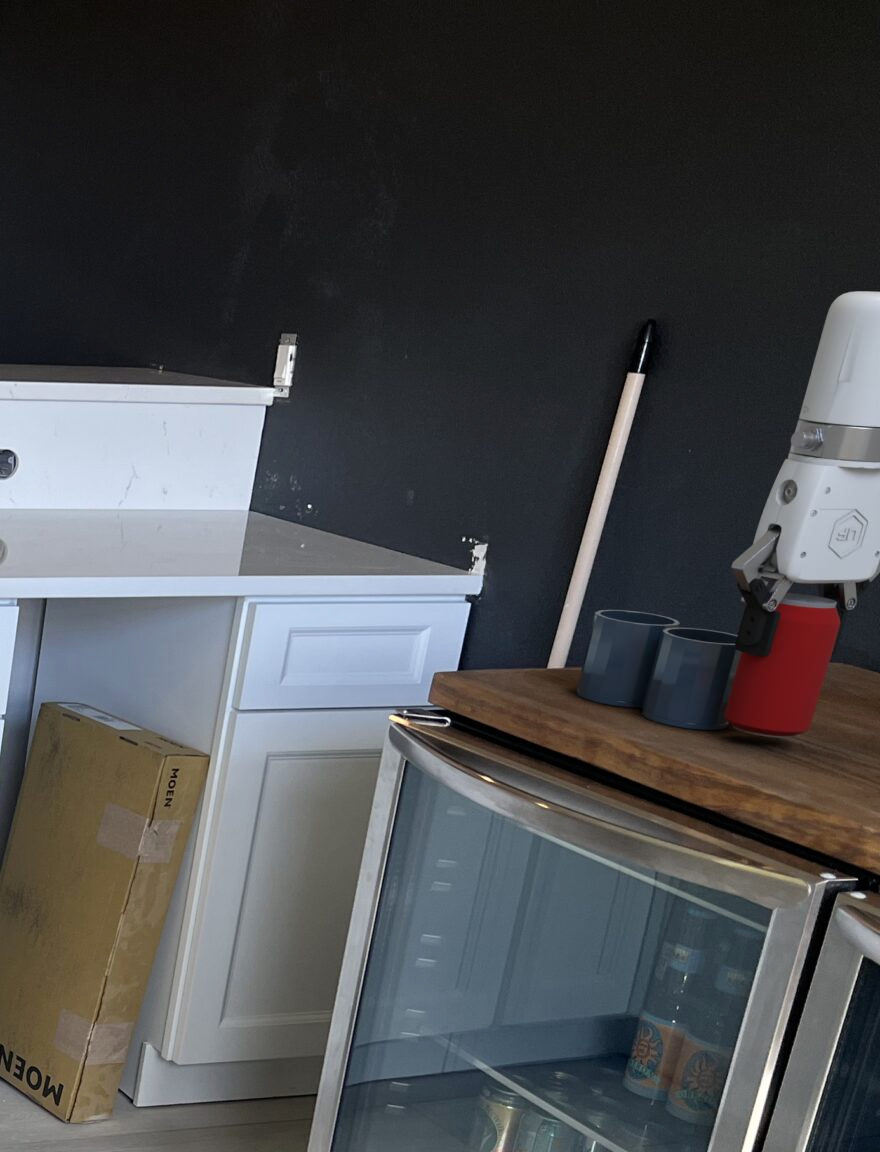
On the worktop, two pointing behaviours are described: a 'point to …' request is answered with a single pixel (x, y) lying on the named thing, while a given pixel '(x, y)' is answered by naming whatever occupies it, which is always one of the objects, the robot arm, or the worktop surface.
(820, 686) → the beverage can
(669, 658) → the tumbler mid
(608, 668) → the tumbler far
